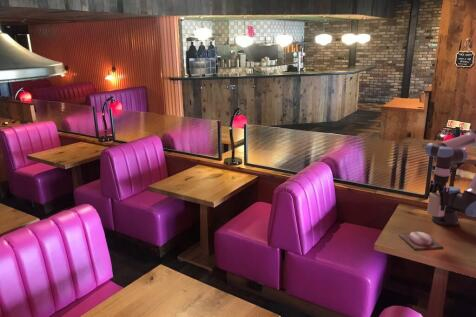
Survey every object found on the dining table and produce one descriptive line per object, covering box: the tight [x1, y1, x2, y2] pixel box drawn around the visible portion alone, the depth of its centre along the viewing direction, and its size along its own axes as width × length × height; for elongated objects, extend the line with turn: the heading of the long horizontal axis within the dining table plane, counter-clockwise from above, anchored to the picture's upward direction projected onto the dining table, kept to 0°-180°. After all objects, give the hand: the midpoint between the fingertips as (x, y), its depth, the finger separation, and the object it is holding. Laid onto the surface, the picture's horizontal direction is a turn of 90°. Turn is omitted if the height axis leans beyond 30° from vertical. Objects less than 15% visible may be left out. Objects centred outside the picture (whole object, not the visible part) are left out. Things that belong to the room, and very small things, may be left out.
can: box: [426, 191, 446, 217], centre depth 225 cm, size 9×9×12 cm
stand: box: [398, 231, 444, 251], centre depth 230 cm, size 17×17×4 cm
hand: (435, 212), depth 227 cm, fingers closed on can, 9 cm apart
